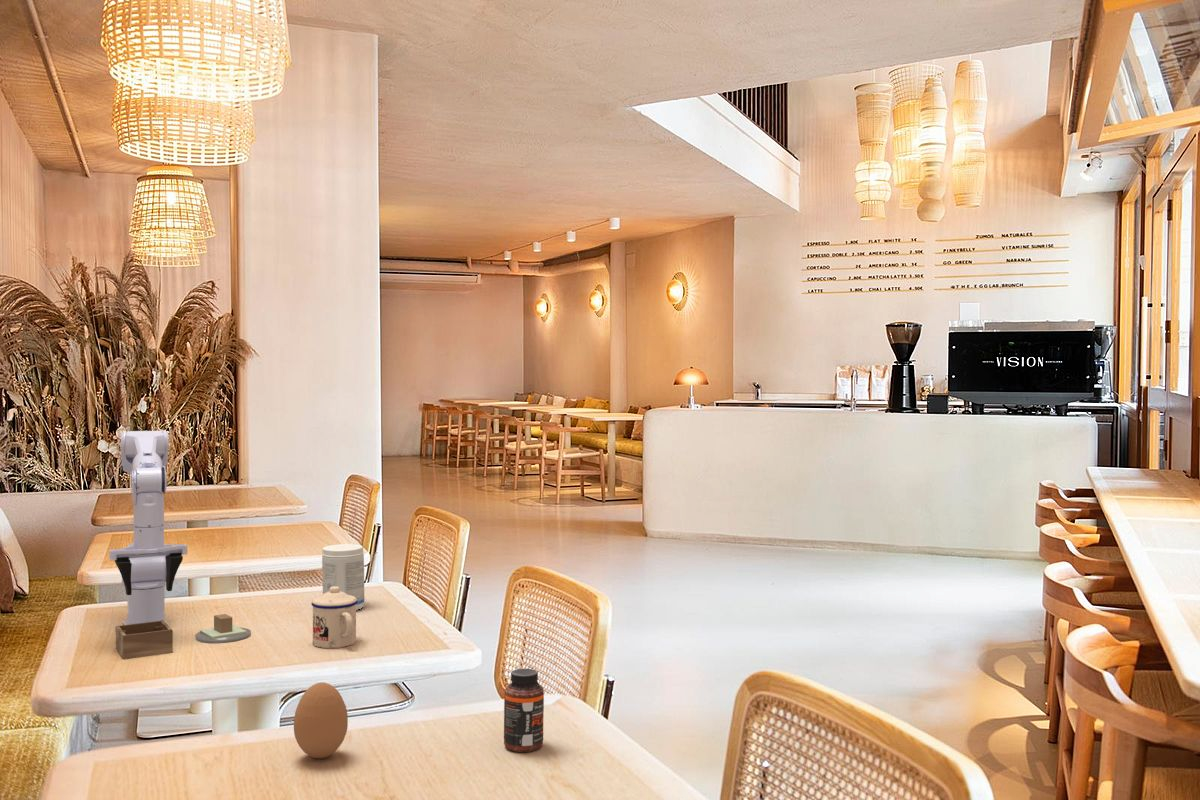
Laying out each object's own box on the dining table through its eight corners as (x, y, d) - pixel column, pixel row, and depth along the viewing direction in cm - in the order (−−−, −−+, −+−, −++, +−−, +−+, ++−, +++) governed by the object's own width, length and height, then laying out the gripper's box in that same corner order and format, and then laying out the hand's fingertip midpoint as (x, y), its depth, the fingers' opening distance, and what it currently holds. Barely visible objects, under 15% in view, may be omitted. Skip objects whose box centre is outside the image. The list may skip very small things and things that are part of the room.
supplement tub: (364, 603, 247) (364, 543, 247) (364, 612, 238) (364, 549, 238) (322, 605, 245) (323, 544, 245) (321, 614, 236) (321, 550, 236)
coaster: (189, 634, 217) (189, 631, 217) (243, 627, 223) (243, 624, 223) (202, 645, 208) (202, 642, 208) (257, 638, 214) (257, 635, 214)
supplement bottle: (538, 755, 151) (539, 678, 150) (499, 752, 152) (499, 676, 151) (547, 740, 157) (547, 667, 156) (509, 738, 158) (510, 665, 157)
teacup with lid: (304, 642, 212) (304, 586, 211) (345, 635, 218) (345, 580, 217) (329, 655, 202) (329, 596, 202) (371, 647, 208) (371, 590, 208)
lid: (199, 632, 216) (199, 615, 216) (233, 627, 221) (233, 610, 221) (212, 639, 211) (212, 622, 211) (246, 634, 215) (246, 617, 215)
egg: (290, 751, 151) (290, 678, 151) (342, 744, 154) (343, 673, 154) (297, 770, 144) (297, 693, 144) (352, 762, 147) (352, 687, 147)
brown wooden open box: (115, 648, 206) (115, 626, 205) (163, 642, 211) (163, 620, 210) (123, 659, 198) (123, 635, 198) (172, 652, 203) (172, 629, 203)
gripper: (113, 530, 202) (113, 599, 202) (190, 525, 210) (190, 591, 210) (107, 526, 208) (107, 593, 208) (183, 521, 216) (183, 586, 216)
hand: (149, 592), depth 210 cm, fingers open, 7 cm apart
